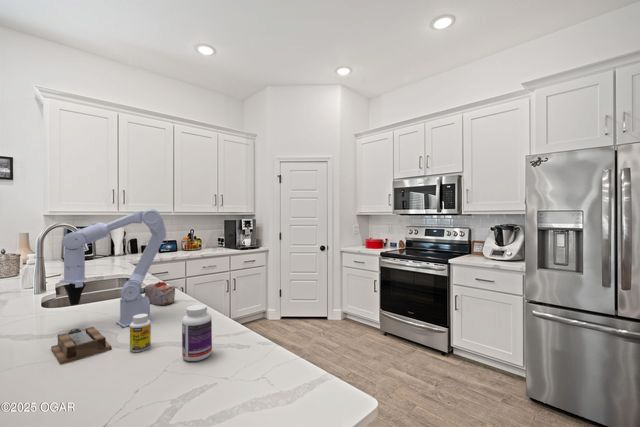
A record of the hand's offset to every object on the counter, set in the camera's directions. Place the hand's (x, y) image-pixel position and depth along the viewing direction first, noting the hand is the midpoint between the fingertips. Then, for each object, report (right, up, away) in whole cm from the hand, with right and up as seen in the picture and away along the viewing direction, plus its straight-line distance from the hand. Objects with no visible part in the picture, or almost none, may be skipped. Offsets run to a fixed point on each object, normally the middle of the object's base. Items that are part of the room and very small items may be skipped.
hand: (74, 304), depth 106 cm
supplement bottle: (+32, -10, -14) cm, 36 cm away
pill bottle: (+51, -10, -19) cm, 55 cm away
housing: (+14, -10, -14) cm, 22 cm away
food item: (+13, -10, +33) cm, 36 cm away
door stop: (+13, -9, -13) cm, 20 cm away
